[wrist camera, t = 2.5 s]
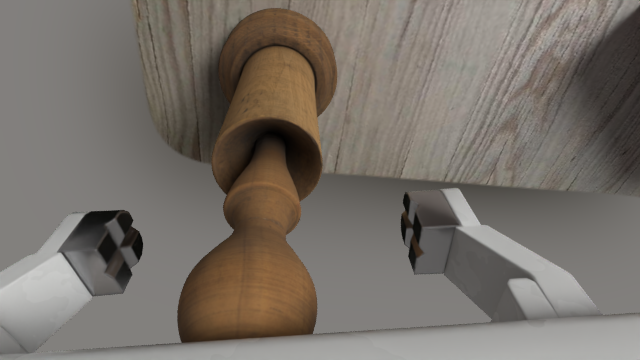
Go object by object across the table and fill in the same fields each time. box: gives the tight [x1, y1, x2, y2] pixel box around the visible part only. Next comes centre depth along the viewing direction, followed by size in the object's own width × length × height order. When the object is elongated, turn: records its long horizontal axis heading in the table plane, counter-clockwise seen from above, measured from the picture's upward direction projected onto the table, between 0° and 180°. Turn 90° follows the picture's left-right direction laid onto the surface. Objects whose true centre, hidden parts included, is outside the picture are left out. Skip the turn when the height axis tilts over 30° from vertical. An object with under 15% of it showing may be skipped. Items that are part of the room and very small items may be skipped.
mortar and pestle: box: [178, 8, 337, 343], centre depth 14 cm, size 7×6×18 cm
